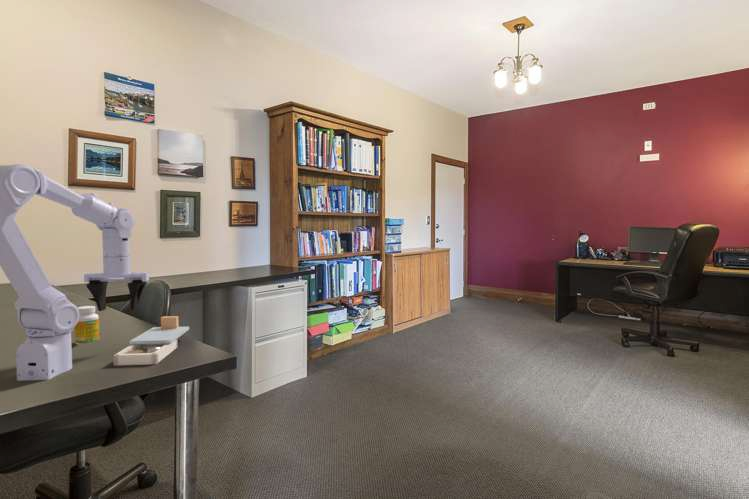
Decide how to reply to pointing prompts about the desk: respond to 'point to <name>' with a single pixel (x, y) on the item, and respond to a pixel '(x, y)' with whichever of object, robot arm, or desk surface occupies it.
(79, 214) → the robot arm
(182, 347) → the desk surface
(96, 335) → the supplement bottle
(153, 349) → the steel bushing
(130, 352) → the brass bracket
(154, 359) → the tub
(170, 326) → the lid
